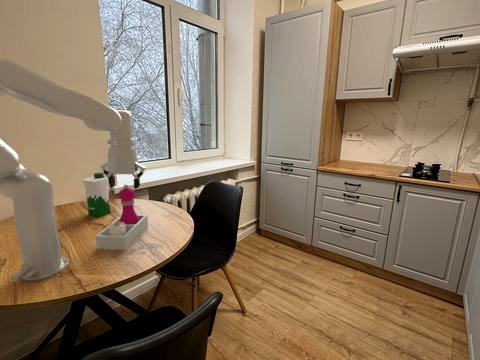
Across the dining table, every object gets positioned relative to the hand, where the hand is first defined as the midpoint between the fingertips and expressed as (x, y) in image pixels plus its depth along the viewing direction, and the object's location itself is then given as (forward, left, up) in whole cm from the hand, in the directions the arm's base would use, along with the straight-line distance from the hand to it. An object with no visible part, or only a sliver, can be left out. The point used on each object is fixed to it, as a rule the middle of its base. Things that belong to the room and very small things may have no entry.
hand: (124, 187), depth 102 cm
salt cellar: (-9, 0, -19) cm, 21 cm away
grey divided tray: (-4, 0, -20) cm, 20 cm away
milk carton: (+20, +24, -20) cm, 37 cm away
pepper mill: (0, 0, -19) cm, 19 cm away
